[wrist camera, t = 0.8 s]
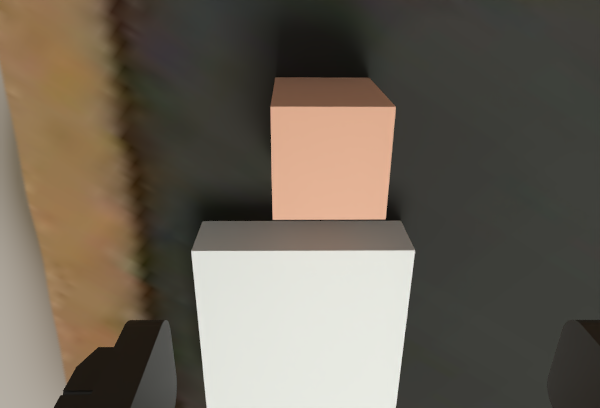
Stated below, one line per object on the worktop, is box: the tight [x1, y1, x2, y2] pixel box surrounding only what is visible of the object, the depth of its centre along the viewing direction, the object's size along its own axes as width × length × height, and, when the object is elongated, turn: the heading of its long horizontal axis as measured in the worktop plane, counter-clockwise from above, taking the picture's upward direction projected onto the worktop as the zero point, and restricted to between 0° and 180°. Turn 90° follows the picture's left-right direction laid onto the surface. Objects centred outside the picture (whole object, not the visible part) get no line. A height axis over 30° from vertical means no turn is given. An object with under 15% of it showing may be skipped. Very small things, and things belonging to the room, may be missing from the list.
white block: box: [191, 221, 415, 408], centre depth 30 cm, size 12×12×4 cm
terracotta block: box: [270, 77, 396, 220], centre depth 23 cm, size 5×5×7 cm
